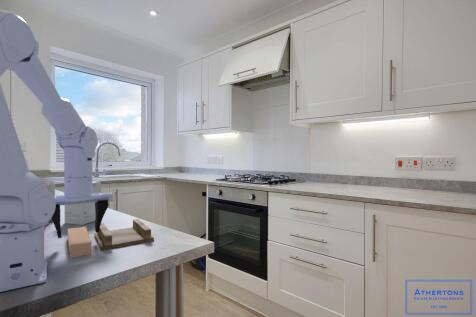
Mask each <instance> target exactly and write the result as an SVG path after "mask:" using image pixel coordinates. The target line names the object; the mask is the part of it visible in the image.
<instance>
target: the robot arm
mask: <svg viewBox="0 0 476 317" xmlns="http://www.w3.org/2000/svg"><path fill="white" fill-rule="evenodd" d="M38 41H39V40H37V39H36V37H35V36H34V33H33V30H32V29H31V27H30V25H29V24H28V23H27V21H25V19H24V18H22V17H21V16H19V15H18V14H16V13H14V12H2V13H0V78H1V77H2V75H4V74H5V72H6V71H7V70H8V71H12V72H13V73H15V75H17V77H18V78H19V79H20V81H22V83H23V84H24V85H25V86H26V87H27V88H28V89H29V90H30V91H31V93H32V94H33V95H34V96H35V97H36V99H37V100H39V102H40V103H41V104H42V107H41V114H42V115H43V116H44V118H45V119H46V120H47V122H48V123H49V124H50V126H51V127H52V128H53V130H54V133H55V136H56V141H57V145H58V147H60V148H61V149H62V150H63V155H64V156H63V159H64V160H63V166H64V168H63V169H64V173H63V174H64V175H63V176H64V178H63V179H64V180H63V181H64V184H63V187H64V192H63V194H64V195H57V196H56V195H55V196H53V194H52V193H51V192H50V191H49V190H48V189H47V187H46V184H45V183H46V181H45V180H43V179H42V178H40V177H39V176H38V175H36V174H34V173H33V172H32V171H30V170H29V166H28V163H27V161H26V158H25V155H24V152H23V149H22V145H21V143H20V139H19V137H18V134H17V130H16V128H15V125H14V124H15V123H14V122H13V118H12V115H11V112H10V109H9V106H8V103H7V100H6V97H5V93H4V90H3V87H2V84H1V83H0V293H2V292H7V291H10V290H16V289H19V288H25V287H29V286H33V285H39V284H42V283H45V282H47V281H48V280H47V276H48V261H47V260H45V226H47V225H48V224H49V223H48V221H49V220H50V219H52V221H53V222H52V223H53V225H54V227H55V232H56V234H57V239H61V238H62V227H61V206H65V205H71V204H82V203H93V202H95V221H94V233H98V232H99V230H100V225H101V224H102V221H103V218H104V216H105V214H106V212H107V210H108V208H109V205H110V204H109V202H113V201H114V194H113V192H101V193H92V181H93V159H94V158H95V155H96V149H97V146H98V144H99V138H98V134H97V132H96V130H94V129H93V128H91V127H90V126H89V125H88V126H86V124H85V122H84V120H83V119H82V117H81V115H79V113H78V111H77V109H76V108H75V106H74V105H73V104H72V102H71V101H70V100H69V99H68V98H63V97H61V96H60V94H59V92H58V91H57V88H56V87H55V85H54V83H53V81H52V79H51V78H50V76H49V75H48V72H47V71H46V69H45V67H44V65H43V63H42V62H41V59H40V58H39V51H40V50H39V48H40V47H39V42H38ZM85 200H88V201H85ZM70 201H76V202H70Z"/></svg>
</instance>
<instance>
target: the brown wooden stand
mask: <svg viewBox="0 0 476 317" xmlns="http://www.w3.org/2000/svg"><path fill="white" fill-rule="evenodd" d="M93 234H94V235H93V236H94V238H95V240H96V242H97V244H98V246H99V249H100V251H103V250H104V251H105V250H110V249H115V248H121V247H126V246H132V245H138V244H143V243H148V242H153V241H155V237H154V236H153V235H152V229H151V228H150V227H149V226H147V224H146V223H144V222H143V221H141V220H140V219H139V218H137V219H132V227H127V228H120V229H111V230H109V229H108V227H107V225H105V223H101V225H100V230H99V232H97V233H96V232H94V233H93Z"/></svg>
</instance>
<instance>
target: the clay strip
mask: <svg viewBox="0 0 476 317" xmlns="http://www.w3.org/2000/svg"><path fill="white" fill-rule="evenodd" d="M67 244H68V252H69V253H70V254H69V253H68V254H69V258H75V257H81V256H80V255H82V256H86V255H87V254H88V255H91V254H92V239H91V237H90V234H89V232H88V229H87V226H81V227H80V226H78V227H73V228H67ZM88 255H87V256H88Z"/></svg>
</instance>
